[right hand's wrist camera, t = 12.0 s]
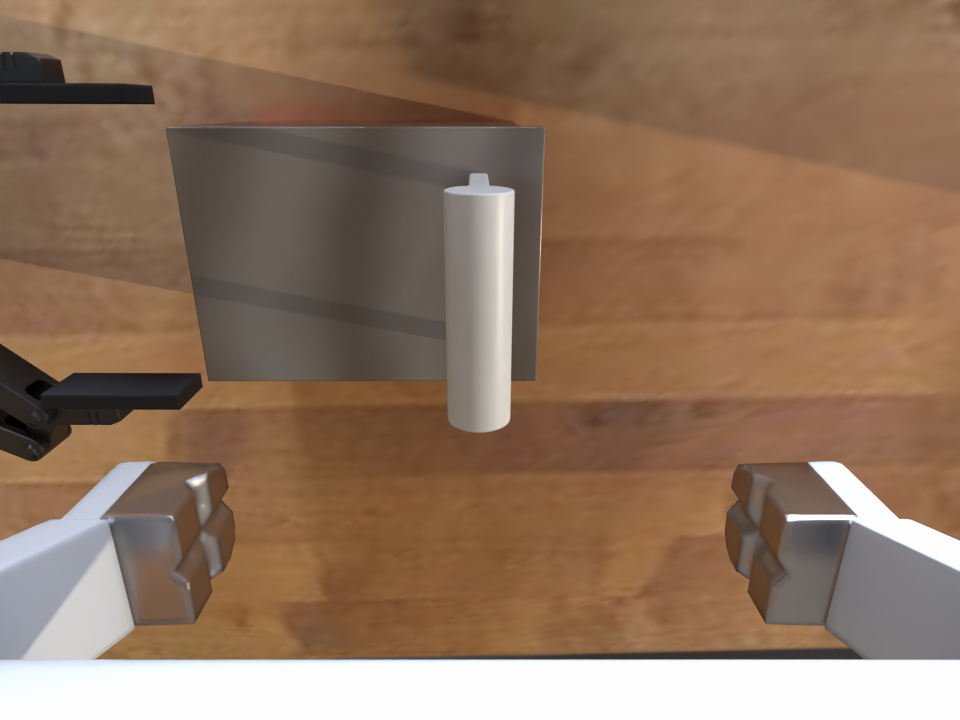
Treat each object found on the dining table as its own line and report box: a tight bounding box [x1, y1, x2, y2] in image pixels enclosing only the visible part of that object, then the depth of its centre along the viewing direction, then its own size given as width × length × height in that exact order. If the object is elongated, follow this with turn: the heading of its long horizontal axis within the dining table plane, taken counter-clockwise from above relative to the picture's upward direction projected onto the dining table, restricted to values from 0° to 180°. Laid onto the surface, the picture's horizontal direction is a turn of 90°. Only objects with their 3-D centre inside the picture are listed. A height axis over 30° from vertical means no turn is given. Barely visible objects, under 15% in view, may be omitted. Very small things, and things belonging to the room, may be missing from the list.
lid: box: [166, 126, 545, 433], centre depth 23 cm, size 14×10×9 cm
